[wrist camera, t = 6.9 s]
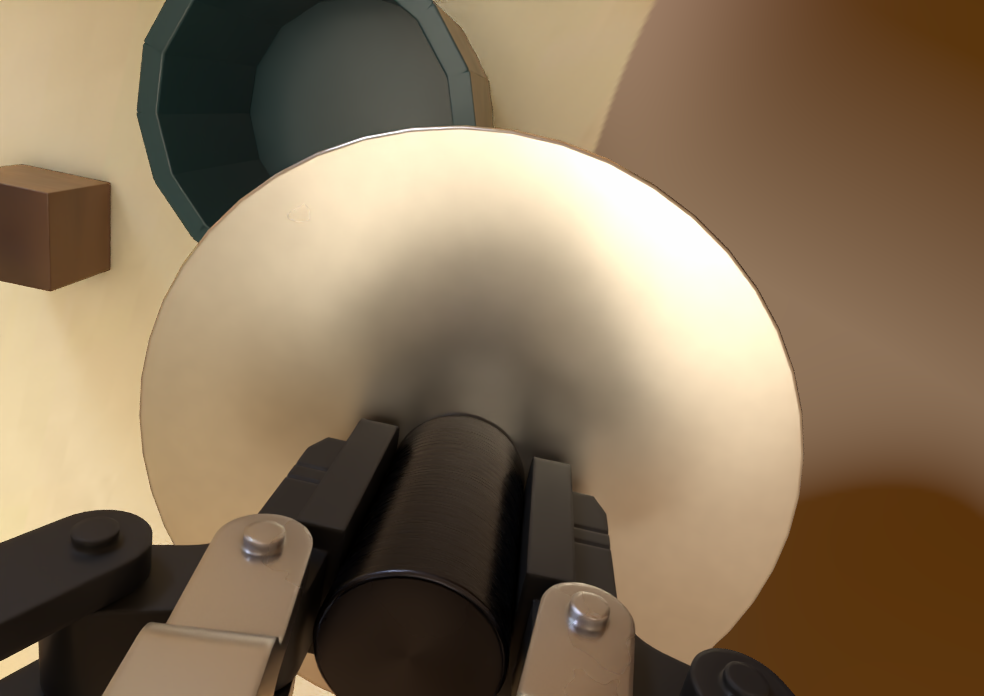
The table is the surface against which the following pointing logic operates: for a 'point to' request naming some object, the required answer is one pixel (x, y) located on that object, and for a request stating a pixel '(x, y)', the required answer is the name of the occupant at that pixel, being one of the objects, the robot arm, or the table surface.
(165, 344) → the lid
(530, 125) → the table surface
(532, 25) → the table surface
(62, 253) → the block
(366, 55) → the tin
